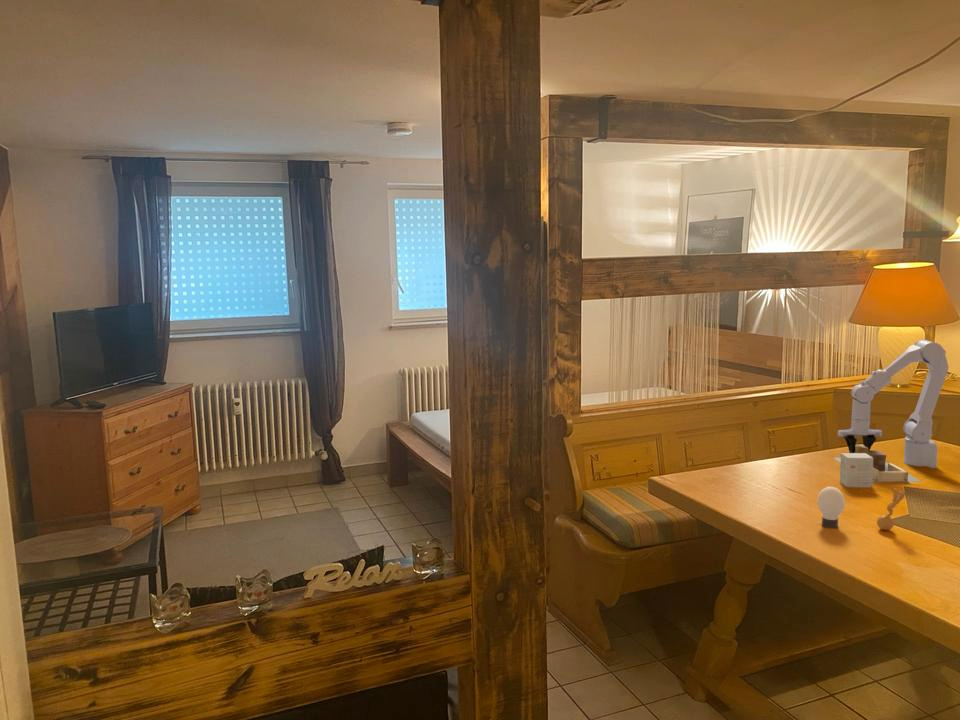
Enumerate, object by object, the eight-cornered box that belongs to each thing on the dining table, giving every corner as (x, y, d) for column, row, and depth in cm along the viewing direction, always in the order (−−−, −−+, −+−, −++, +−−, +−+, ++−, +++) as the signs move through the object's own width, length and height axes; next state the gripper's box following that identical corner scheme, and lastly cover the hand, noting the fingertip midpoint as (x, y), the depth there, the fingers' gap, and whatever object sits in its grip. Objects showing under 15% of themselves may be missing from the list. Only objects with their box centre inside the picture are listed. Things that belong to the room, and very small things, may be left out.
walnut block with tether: (863, 457, 254) (864, 441, 252) (884, 471, 239) (886, 455, 238) (849, 457, 254) (850, 441, 253) (869, 472, 239) (870, 455, 238)
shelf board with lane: (878, 459, 256) (878, 449, 255) (921, 483, 228) (922, 472, 228) (832, 459, 257) (833, 449, 256) (870, 484, 229) (871, 472, 229)
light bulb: (823, 530, 192) (825, 491, 191) (811, 521, 199) (813, 483, 198) (848, 529, 193) (850, 490, 191) (835, 520, 199) (837, 482, 198)
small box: (864, 484, 229) (866, 452, 228) (872, 489, 224) (874, 457, 222) (838, 484, 230) (840, 452, 229) (845, 489, 225) (847, 457, 223)
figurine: (878, 523, 196) (880, 482, 194) (903, 527, 193) (906, 485, 191) (875, 533, 189) (877, 490, 188) (901, 538, 186) (903, 494, 184)
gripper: (876, 415, 253) (873, 452, 255) (834, 416, 254) (832, 452, 256) (886, 420, 247) (883, 457, 248) (843, 420, 247) (841, 458, 249)
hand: (858, 455), depth 252 cm, fingers closed on walnut block with tether, 4 cm apart
